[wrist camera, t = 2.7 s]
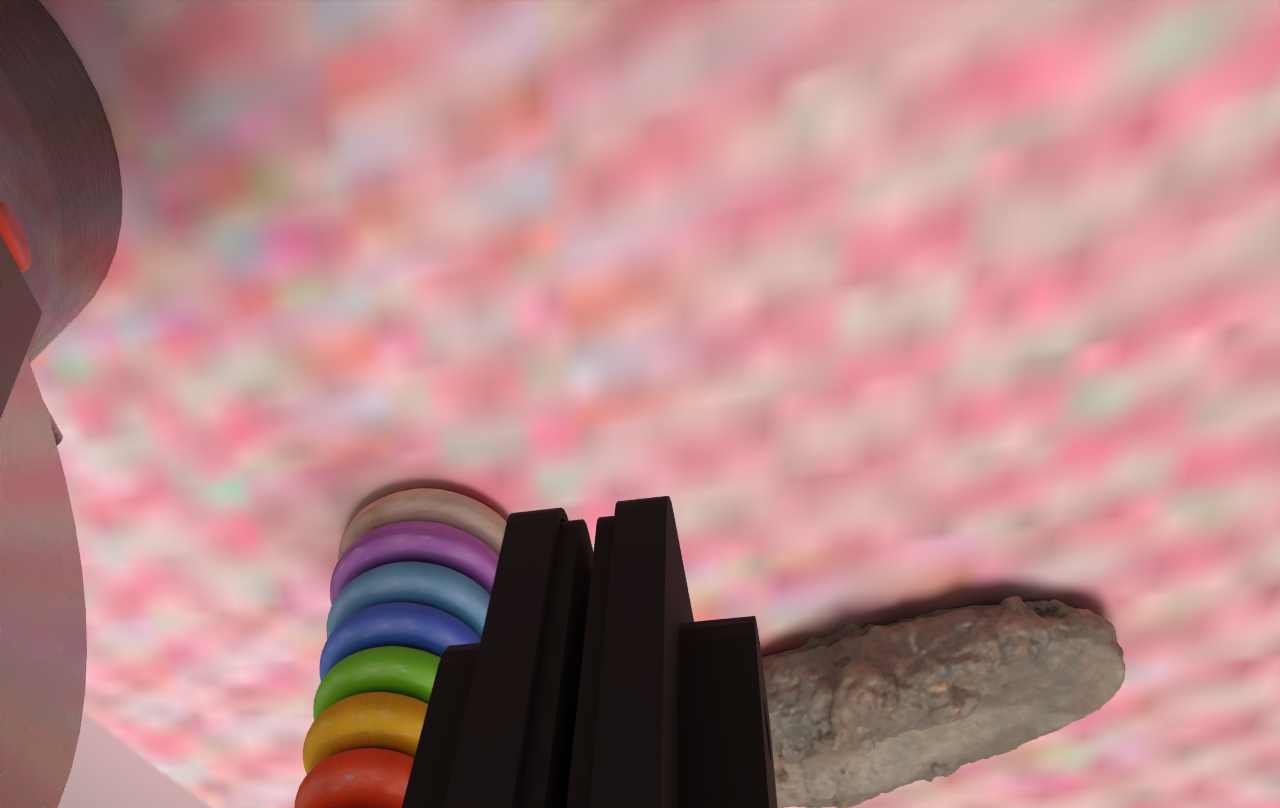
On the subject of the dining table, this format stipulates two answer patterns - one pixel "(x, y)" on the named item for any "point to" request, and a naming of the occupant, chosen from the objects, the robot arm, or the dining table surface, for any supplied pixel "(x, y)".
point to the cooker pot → (55, 168)
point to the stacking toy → (394, 639)
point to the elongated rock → (930, 695)
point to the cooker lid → (34, 564)
